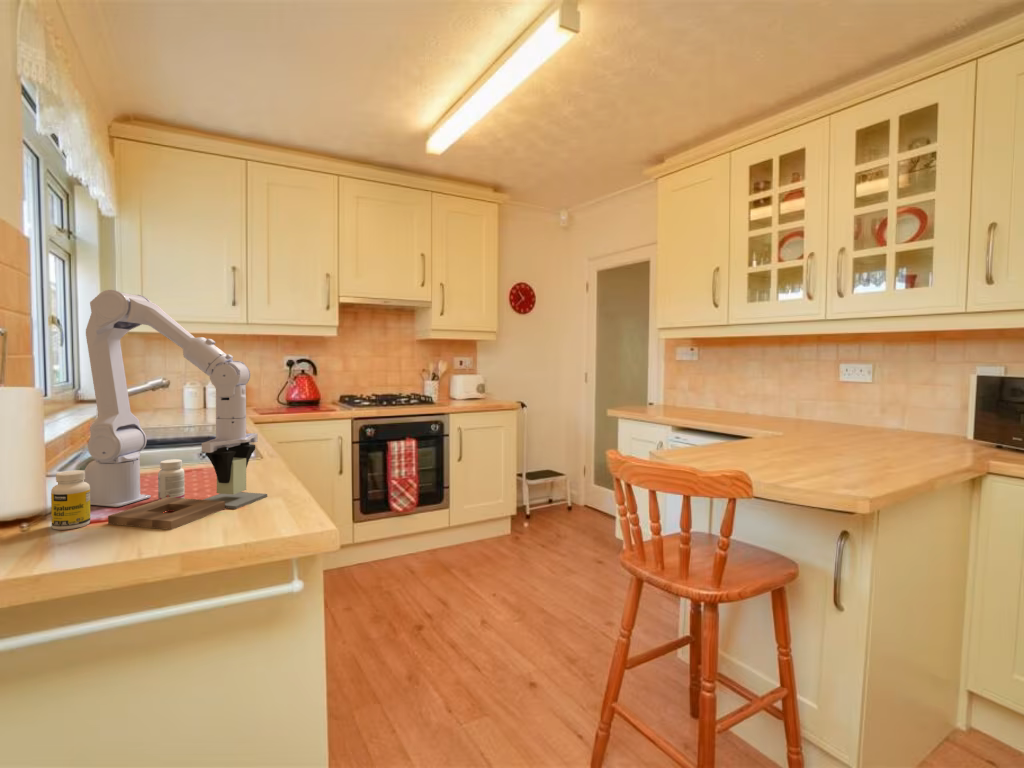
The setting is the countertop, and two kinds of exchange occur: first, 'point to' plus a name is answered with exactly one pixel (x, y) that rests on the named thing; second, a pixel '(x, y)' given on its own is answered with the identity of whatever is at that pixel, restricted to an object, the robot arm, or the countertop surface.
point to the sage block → (234, 478)
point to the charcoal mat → (237, 499)
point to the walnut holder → (155, 517)
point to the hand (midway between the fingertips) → (231, 480)
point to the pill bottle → (171, 479)
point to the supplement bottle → (70, 501)
